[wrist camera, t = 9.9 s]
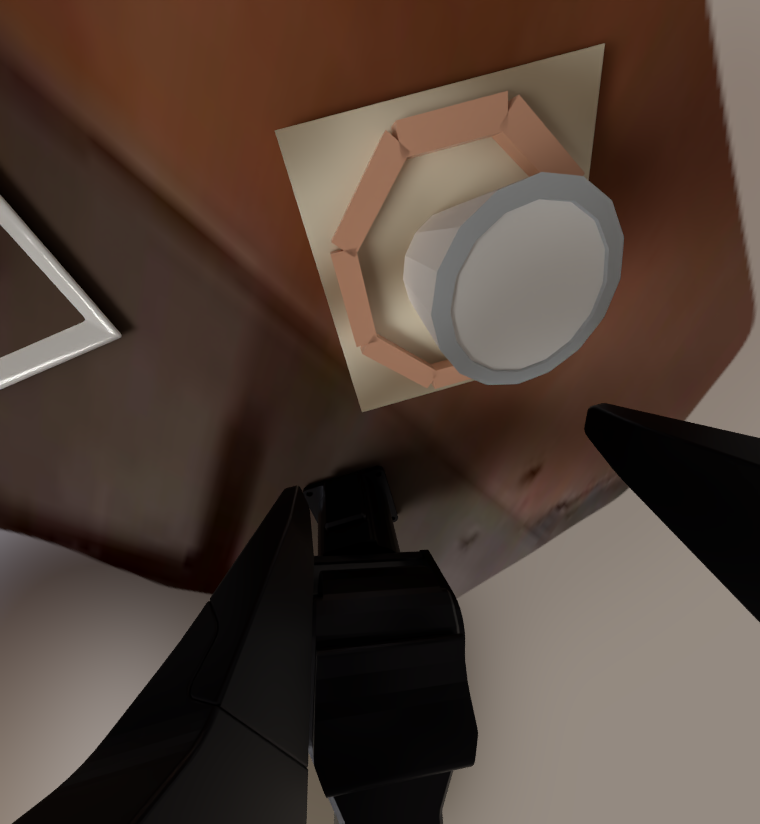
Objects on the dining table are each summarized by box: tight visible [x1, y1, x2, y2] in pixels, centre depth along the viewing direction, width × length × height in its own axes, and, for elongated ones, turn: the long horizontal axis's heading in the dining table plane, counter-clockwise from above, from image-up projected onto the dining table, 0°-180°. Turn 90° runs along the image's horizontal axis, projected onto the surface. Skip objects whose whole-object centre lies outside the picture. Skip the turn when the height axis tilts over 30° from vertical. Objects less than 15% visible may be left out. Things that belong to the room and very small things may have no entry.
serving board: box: [275, 43, 605, 412], centre depth 17 cm, size 14×14×1 cm
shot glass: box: [403, 172, 624, 385], centre depth 14 cm, size 7×7×7 cm
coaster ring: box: [330, 91, 585, 389], centre depth 16 cm, size 12×12×1 cm
